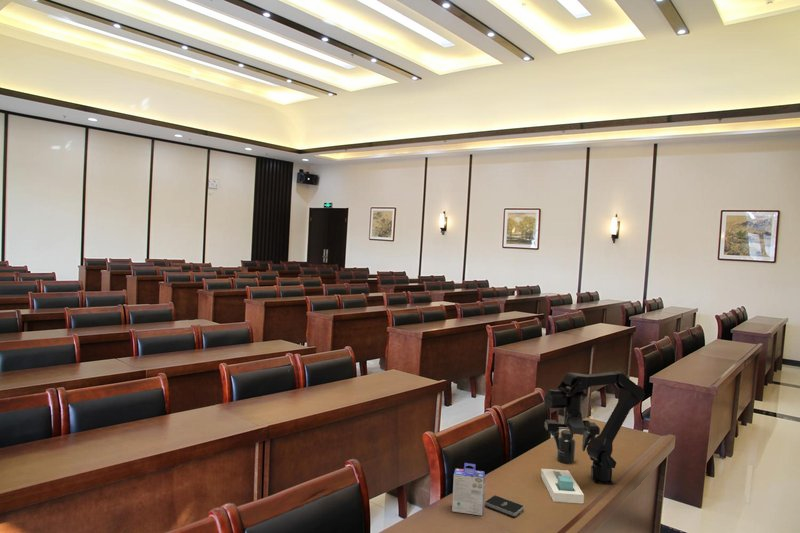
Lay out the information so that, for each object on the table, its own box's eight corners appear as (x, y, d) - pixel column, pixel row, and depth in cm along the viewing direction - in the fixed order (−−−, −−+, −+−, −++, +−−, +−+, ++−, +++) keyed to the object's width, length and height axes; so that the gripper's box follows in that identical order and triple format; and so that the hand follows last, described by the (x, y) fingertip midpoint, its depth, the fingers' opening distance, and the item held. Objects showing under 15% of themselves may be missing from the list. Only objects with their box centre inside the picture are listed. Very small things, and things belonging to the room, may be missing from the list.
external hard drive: (514, 519, 160) (514, 513, 160) (483, 507, 167) (483, 501, 167) (524, 512, 165) (524, 505, 165) (494, 500, 172) (494, 494, 172)
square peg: (569, 493, 179) (570, 476, 179) (572, 499, 175) (573, 481, 175) (557, 492, 179) (557, 475, 179) (560, 498, 175) (560, 481, 175)
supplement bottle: (556, 462, 207) (557, 432, 207) (557, 456, 213) (559, 428, 213) (573, 465, 204) (575, 435, 204) (574, 459, 211) (576, 430, 211)
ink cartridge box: (483, 508, 166) (485, 464, 165) (482, 516, 160) (485, 470, 160) (453, 504, 168) (455, 460, 167) (451, 512, 162) (453, 466, 162)
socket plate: (568, 478, 192) (568, 470, 192) (583, 503, 172) (584, 494, 172) (541, 476, 192) (541, 468, 192) (553, 501, 172) (553, 492, 172)
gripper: (552, 412, 180) (549, 456, 181) (606, 416, 179) (603, 460, 179) (545, 404, 192) (543, 445, 192) (596, 407, 190) (593, 448, 191)
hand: (570, 450), depth 188 cm, fingers open, 9 cm apart
